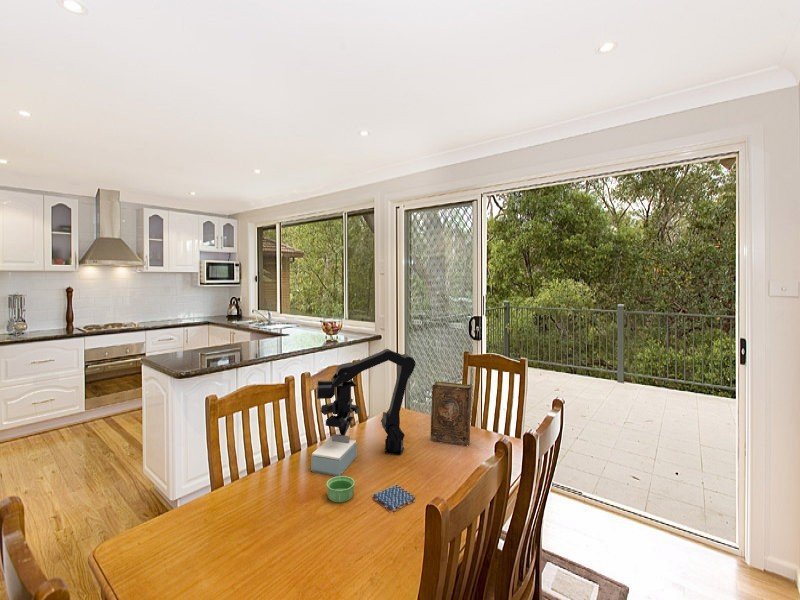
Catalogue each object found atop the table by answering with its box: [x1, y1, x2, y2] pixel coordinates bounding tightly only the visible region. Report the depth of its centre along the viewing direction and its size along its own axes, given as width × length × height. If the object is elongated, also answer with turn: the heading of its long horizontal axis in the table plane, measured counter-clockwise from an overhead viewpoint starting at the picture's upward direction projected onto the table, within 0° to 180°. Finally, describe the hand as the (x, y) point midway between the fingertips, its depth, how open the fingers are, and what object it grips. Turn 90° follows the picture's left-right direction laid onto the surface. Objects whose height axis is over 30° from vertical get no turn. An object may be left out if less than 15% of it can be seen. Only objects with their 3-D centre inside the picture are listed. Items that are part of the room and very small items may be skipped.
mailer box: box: [310, 442, 358, 477], centre depth 150 cm, size 16×11×6 cm
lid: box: [311, 433, 357, 460], centre depth 150 cm, size 16×11×3 cm
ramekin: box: [326, 475, 355, 503], centre depth 129 cm, size 9×9×4 cm
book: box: [430, 381, 472, 447], centre depth 173 cm, size 16×6×25 cm, turn 73°
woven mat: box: [371, 484, 416, 514], centre depth 127 cm, size 10×11×2 cm
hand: (342, 436), depth 157 cm, fingers closed
